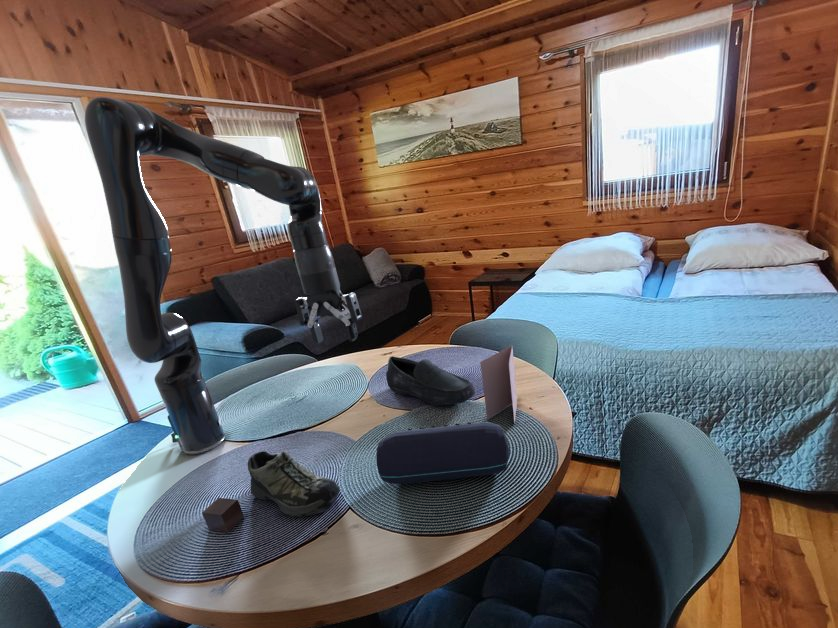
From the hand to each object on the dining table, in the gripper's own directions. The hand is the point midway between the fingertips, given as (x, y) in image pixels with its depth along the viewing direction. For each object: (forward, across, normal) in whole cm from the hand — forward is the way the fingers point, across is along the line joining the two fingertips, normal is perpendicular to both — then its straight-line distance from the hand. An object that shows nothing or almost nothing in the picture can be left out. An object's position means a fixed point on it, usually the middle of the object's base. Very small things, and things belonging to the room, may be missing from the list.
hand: (336, 341), depth 96 cm
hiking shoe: (+23, +2, +24) cm, 33 cm away
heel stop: (+23, +11, +32) cm, 41 cm away
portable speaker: (+24, -26, +14) cm, 38 cm away
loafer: (+24, -11, -18) cm, 32 cm away
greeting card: (+24, -35, -10) cm, 44 cm away
